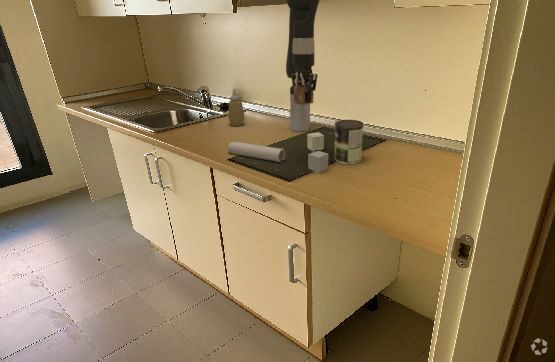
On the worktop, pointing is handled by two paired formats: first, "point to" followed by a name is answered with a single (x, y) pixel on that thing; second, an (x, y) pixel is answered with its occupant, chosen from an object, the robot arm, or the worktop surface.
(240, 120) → the squeeze bottle
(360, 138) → the coffee can
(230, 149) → the tube
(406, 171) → the worktop surface
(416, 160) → the worktop surface
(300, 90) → the walnut block
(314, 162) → the slate grey block
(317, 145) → the pale sage block
